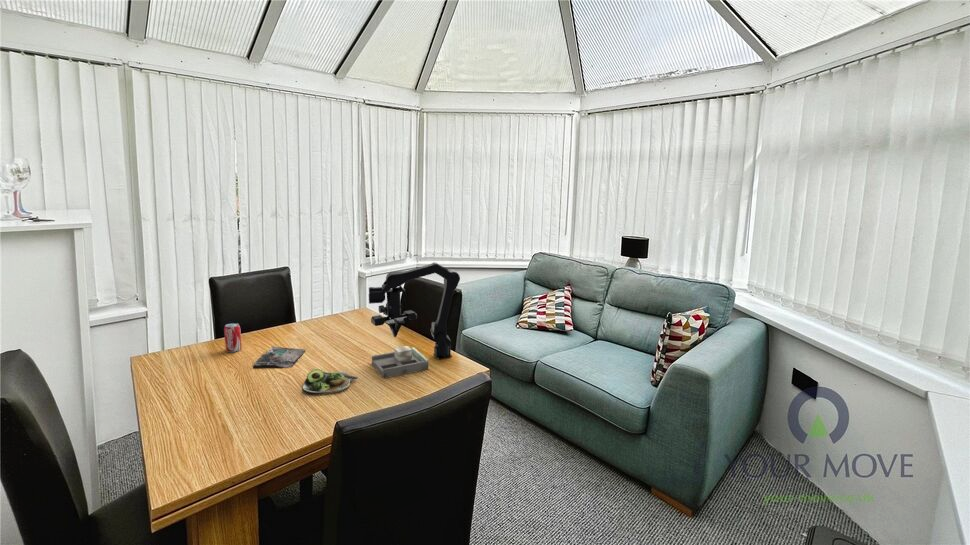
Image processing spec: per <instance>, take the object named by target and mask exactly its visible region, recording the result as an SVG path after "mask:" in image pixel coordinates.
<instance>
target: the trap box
mask: <svg viewBox="0 0 970 545" xmlns="http://www.w3.org/2000/svg"><path fill="white" fill-rule="evenodd" d="M411 349H412V359H407V360H402V361H398V360H397V359H396V358H395V351H391V352H386V353H380V354H375V355H374V354H373V355H371V364H372V365H373V367H374V368H375V369H376V371H377V372H378V373H379V374H380V375H381V377H382V378H383V379H387V378H392V377H397V376H402V375H406V374H411V373H415V372H420V371H421V372H422V371H427V370H429V359H428V358H427V357H426V356H425V355H423V354H422V353H421V352H420V351H419V350H417V348H416V347H411Z"/></svg>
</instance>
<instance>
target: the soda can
mask: <svg viewBox="0 0 970 545" xmlns="http://www.w3.org/2000/svg"><path fill="white" fill-rule="evenodd" d="M241 333H242V332H241V326H240V324H239V323H238V322H237V323H234V322H231V323H227V324H225V325H224V328H223V334H224V344H225V346H224V347H225V351H226V352H228V353H237V352H236V351H238V352H240V351H241V350H242V349H243V346H242V345H243V344H242V334H241ZM239 350H240V351H239Z"/></svg>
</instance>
